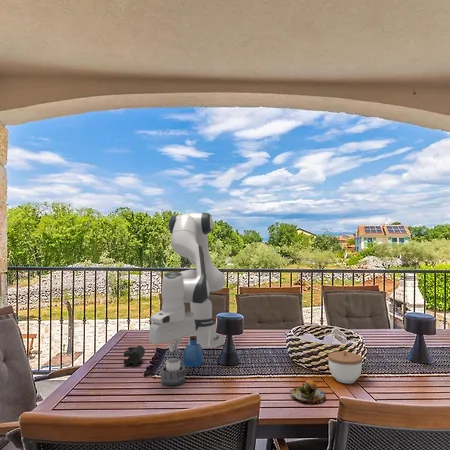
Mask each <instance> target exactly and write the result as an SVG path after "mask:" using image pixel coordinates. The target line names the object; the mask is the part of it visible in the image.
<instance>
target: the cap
mask: <svg viewBox="0 0 450 450" xmlns="http://www.w3.org/2000/svg"><path fill="white" fill-rule="evenodd" d="M180 365H181V360H180V359H179V358H177V357H174V358H169V359H167V360H165V366H166V372H177V371H180Z"/></svg>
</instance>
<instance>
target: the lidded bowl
mask: <svg viewBox="0 0 450 450" xmlns="http://www.w3.org/2000/svg"><path fill="white" fill-rule="evenodd" d="M327 358H328V367H329V371H330V373H331V375H332V377H333V378H334V379H335V381H337V382H338V383H342V384H354V383H356V381H357V380H358V379H359V378H360V376H361V373H362V371H363V370H362V369H363V357H362V356H361V355H359V354H358V353H354V352H351V351H349V352H348V351H347V350H343V351H331V352H329V353H328V354H327Z"/></svg>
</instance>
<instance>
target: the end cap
mask: <svg viewBox="0 0 450 450" xmlns="http://www.w3.org/2000/svg"><path fill="white" fill-rule="evenodd" d="M145 354H146V349H145V348H144V347H143V346H142V345H136V346H128V347H127V350H125V351H124V352H123V358H127V359H123V367H124V368H135V367H136V366H137V365H138V364H139V363H140V362H141V361H142V359H143V358H144V357H145V356H146V355H145Z"/></svg>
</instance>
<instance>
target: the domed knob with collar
mask: <svg viewBox="0 0 450 450" xmlns="http://www.w3.org/2000/svg"><path fill="white" fill-rule="evenodd" d="M185 382H186V366H184V365H181V364H180V371H177V372H166V365H164V366H162V367H161V368H160V384H161V385H162V386H163V387H171V388H173V387H179V386H181V385H184V384H185Z"/></svg>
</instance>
